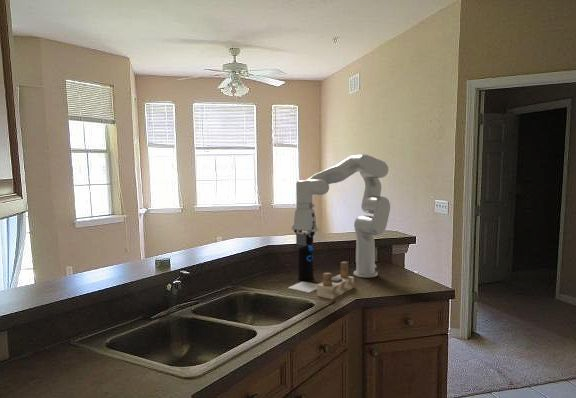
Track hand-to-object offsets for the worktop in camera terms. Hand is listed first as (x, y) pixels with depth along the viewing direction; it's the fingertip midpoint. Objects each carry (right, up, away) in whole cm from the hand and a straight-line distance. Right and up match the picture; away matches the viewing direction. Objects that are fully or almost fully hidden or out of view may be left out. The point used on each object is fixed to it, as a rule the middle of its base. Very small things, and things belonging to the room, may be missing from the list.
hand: (304, 244), depth 180 cm
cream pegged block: (+14, -21, -5) cm, 26 cm away
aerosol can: (+1, -20, +16) cm, 26 cm away
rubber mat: (0, -21, +2) cm, 21 cm away
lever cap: (0, 0, 0) cm, 0 cm away
